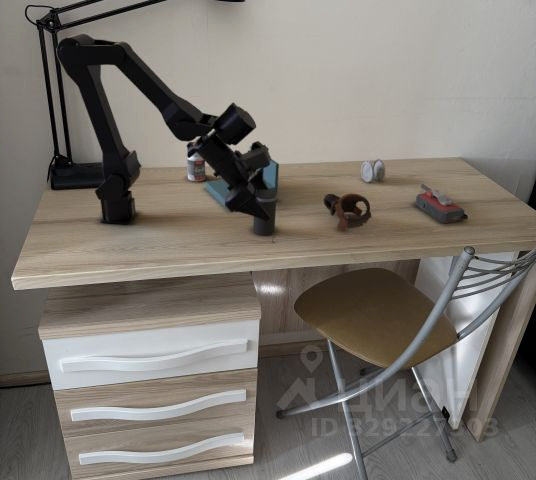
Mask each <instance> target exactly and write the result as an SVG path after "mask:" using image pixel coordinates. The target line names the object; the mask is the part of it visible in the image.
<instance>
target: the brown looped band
mask: <svg viewBox="0 0 536 480" xmlns="http://www.w3.org/2000/svg"><path fill="white" fill-rule="evenodd" d="M322 200H323V204H324V207H326V209H327V210H328V211H329V213H330V216H331V217H333V216H334V215H335V214H336V216H337V218H338V219H339V222H338V224H337V228H338V229H339V230H341V231H342V232H343V231H345V230H346V229H354V228H359V227H362V226H364V224H367V223H368V221H369V220H370V219H371V218H373V216H372V212H371V204H370V201H369V200H368V199H367V198H366V197H364V196H362V195H360V194H358V193H351V192H350V193H345V194H344V195H342V196H337V195H336V194H334V193H327V194H325V195H324V197H323V198H322ZM359 202H362V203H363V204H364V205H365V208H366V209H365V212H364V213H363V209H361V208H360V207H358V206H357V204H358V203H359ZM347 213H349V214H353V215H356V216H352V215H349V214H348V215H347V217H346V216H344V215H345V214H347ZM362 213H363V214H362Z"/></svg>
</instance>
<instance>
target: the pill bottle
mask: <svg viewBox="0 0 536 480" xmlns="http://www.w3.org/2000/svg"><path fill="white" fill-rule="evenodd" d="M186 160H187V161H186V163H187V164H186V167H187V179H188V180H189V181H192V182H201V181H204V180H206V162H205V161H204V159H203V158H202V157H201V156H200V155H199V154H198V153H197V152H196V153H195V154H194V155H193V156H192V157H190V158H188V157H187V156H186Z"/></svg>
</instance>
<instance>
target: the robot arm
mask: <svg viewBox="0 0 536 480" xmlns="http://www.w3.org/2000/svg"><path fill="white" fill-rule="evenodd" d="M55 53H56V57H57V59H58V61H59V63H60V65H61V67H62V69H63V70H64V72H65V74H66V75H67V76H68V77H69V78H70V79H71V80H72V82H74V84H75V86H77V88H78V91H79V94H80V96H81V98H82V102H83V104H84V107H85V110H86V112H87V115H88V118H89V121H90V123H91V126H92V128H93V131H94V135H95V137H96V139H97V142H98V145H99V147H100V150H101V154H102V159H101V169H102V171H101V172H102V175H103V180H104V181H103V182H102V183H101V184H100V185H99V186H98V187H97V188H96V189H95V190H94V193H95V196H96V197H97V199H98V200H100V208H101V216H102V217H101V218H100V219H99V222H100V223H103V224H117V225H129V224H130V222H131V221H132V219H134V217H135V216H136V214H137V210H136V201H135V197H133V194H132V193H133V192H132V190H130V188H132V187H133V185H134V184H135V182H137V180H138V179H139V178H140V175H141V168H142V164H141V163H140V161H139V158H138V154H137V153H138V152H137V151H136V150H135V149H134V150H131V151H130V150H129V149H128V148H127V147H126V146H125V145H124V144H125V143H124V142H123V139H122V137H121V134H120V131H119V127H118V125H117V123H116V119H115V117H114V114H113V111H112V107H111V105H110V102H109V99H108V96H107V94H106V91H105V88H104V85H103V82H102V66H115V68H117V69H118V70H119V71H120V72H121V74H123V75H124V76H125V78H127V79H128V80H129V81H130V82H131V83H132V85H134V87H135V88H137V90H138V91H139V92H140V93H141V94H142V95H143V96H144V97H145V98H146V99H147V100H148V101H149V102H150V103H151V104H152V105H153V106H154V107H155V108H156V109H157V111H159V113H160V115H161V117H162V119H163V121H164V123H165V125H166V126H167V128H168V129H169V130H170V132H171V134H172V135H173V136H174V138H176V140H178V141H180V142H187V144H186V150H187V153H186V158H187V157H188V158H190V157H192V156H193V155H194V154H195V153H196V152H197V153H198V154H199V155H200V156H201V157H202V158H203V159H204V161H205V164H207V165H208V166H209V167H210V168H211V169H212V170H213V171H214V172H213V174H212V175H213V176H214V177H215V178H218V177H220V179H221V180H222V179H223V180H224V181H225V182H226V183H227V184H228V186H227V189H228V190H229V191H230V192H229V193H228V194H227V197H226V199H225V207H226V208H227V209H228V210H229V211H228V210H227V209H226V208H225V207H224V208H225V209H226V210H227V211H228V212H230V213H233V212H235V213H238V212H239V213H242V214H245V215H248V216H251V217H253V218H254V217H257V218H260V219H262V220H265V221H268V220H269V219H270V216H269V214H268V213H267V212H266V210H265V209H264V207H263V206H262V205H261V203H260V202H259V201H258V199H257V191H258V190H264V189H265V190H269V188H268V186H267V184H266V182H265V180H264V178H263V173H264V168H265V167H268V166H269V165H270V161H271V159H272V156H271V154H270V152H269V147H268V146H266V144H263V143H262V142H260V141H259V140H257V141H254V142H252V143H251V145H250V146H251V151H250V149H249V150H247V152H245V153H244V152H243V153H242V152H241V151H240V150H237V149H235V150H233V149H232V148H231V145H232V146H237V145H238V144H240V143H241V142H242V141H243V140H244V139H246V137H248V136H249V135H250V134H251V133H252V132H253V131H254V130H255V129H257V124H256V121H255V120H254V117H252V115H251V114H250V113H249V112H248V111H247V110H245V109H244V108H242V107H241V106H238V105H237V104H236V102H231V103H230V104H229V105H228V106H227V108H226V109H225V110H224V111H223V112H222V113H221V114H220V115H213V114H210V113H205V112H203V111H201V110H200V109H199V108H198V107H197V106H195V105H194V104H192V103H191V102H190V101H188V100H187V99H184V98H182V97H181V96H179V95H178V94H176V93H175V92H174V91H173V90H171V88H170V87H169V86H168V85H167V84H166V83H165V82H164V81H163V80H162V79H161V78H160V77H159V76H158V75H157V74H156V72H154V70H153V69H151V67H150V66H149V65H148V64H147V63H146V62H145V61H144V60H143V58H141V57H140V56H139V55H138V54H137V53H136V52H135V50H133V48H132V46H131V45H130V44H129V43H128V42H126V41H113V40H108V39H103V38H102V39H101V38H93V37H91V36H90V35H88V34H85V33H77V34H73V35H71V36H68V37H65V38H62V39H61V40H60V41H59V42H58V44H57V46H56V49H55ZM195 139H196V140H195ZM194 140H195V141H194ZM260 168H261V169H260ZM258 169H259V170H258ZM232 189H233V190H232Z"/></svg>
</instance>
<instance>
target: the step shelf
mask: <svg viewBox="0 0 536 480" xmlns="http://www.w3.org/2000/svg"><path fill="white" fill-rule="evenodd" d="M249 150H250V151H251V145H250V146H249ZM260 169H261V168H260ZM279 169H280V164H279V163H278V162H277V161H275V160H274V159H272V158H271V161H270V165H269V166H268V167H265V168H264V173H263V178H264V180H265V182H266V184H267V186H268V188H269V190H271V191H274V192H275V193H276V194H277V195H278V187H279V185H278V184H279ZM258 170H259V169H258ZM227 186H228V184H227V183H226V182H225V181H224V180H223V179H222V178H221V179H217V180H216V179H215V180H211V181H210V180H209V181H206V182H205V190H206V191H207V192H208V193H210V195H211V196H212V197H213V198H215V199H216V200H217V202H219V204H221V205H222V206H223V207H224V208H225V209H226V210H227V211H228V212H230V211H229V210H228V209H227V208H226V207H225V199H226V197H227V194H228V193H229V192H230V191H229V190H228V189H227ZM232 190H233V189H232ZM277 202H278V198H277V199H276V203H277Z"/></svg>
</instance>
